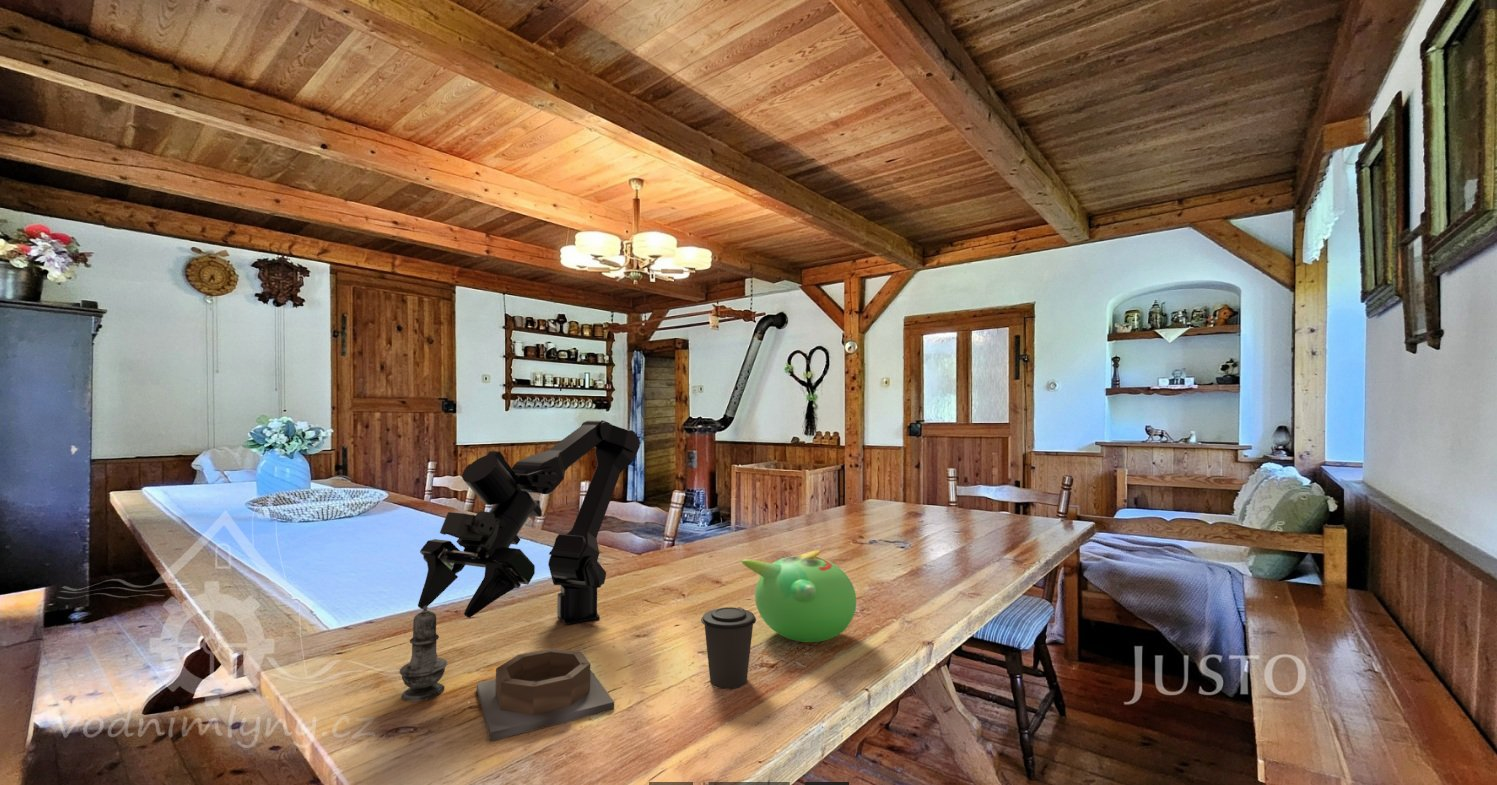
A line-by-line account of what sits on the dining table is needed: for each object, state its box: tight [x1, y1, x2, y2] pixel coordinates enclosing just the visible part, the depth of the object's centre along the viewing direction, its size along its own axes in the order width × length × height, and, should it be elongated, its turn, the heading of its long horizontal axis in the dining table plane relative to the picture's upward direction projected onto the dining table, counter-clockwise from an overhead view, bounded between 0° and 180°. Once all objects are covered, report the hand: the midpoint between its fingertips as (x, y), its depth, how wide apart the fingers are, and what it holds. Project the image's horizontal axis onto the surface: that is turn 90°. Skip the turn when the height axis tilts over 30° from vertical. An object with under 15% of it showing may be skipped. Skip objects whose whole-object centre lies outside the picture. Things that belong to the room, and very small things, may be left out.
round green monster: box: [741, 549, 857, 643], centre depth 103 cm, size 18×17×15 cm
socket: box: [476, 647, 615, 742], centre depth 80 cm, size 15×15×4 cm
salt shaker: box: [398, 605, 448, 703], centre depth 82 cm, size 6×6×12 cm
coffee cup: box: [700, 606, 757, 690], centre depth 86 cm, size 8×8×10 cm
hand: (442, 612), depth 85 cm, fingers open, 9 cm apart
